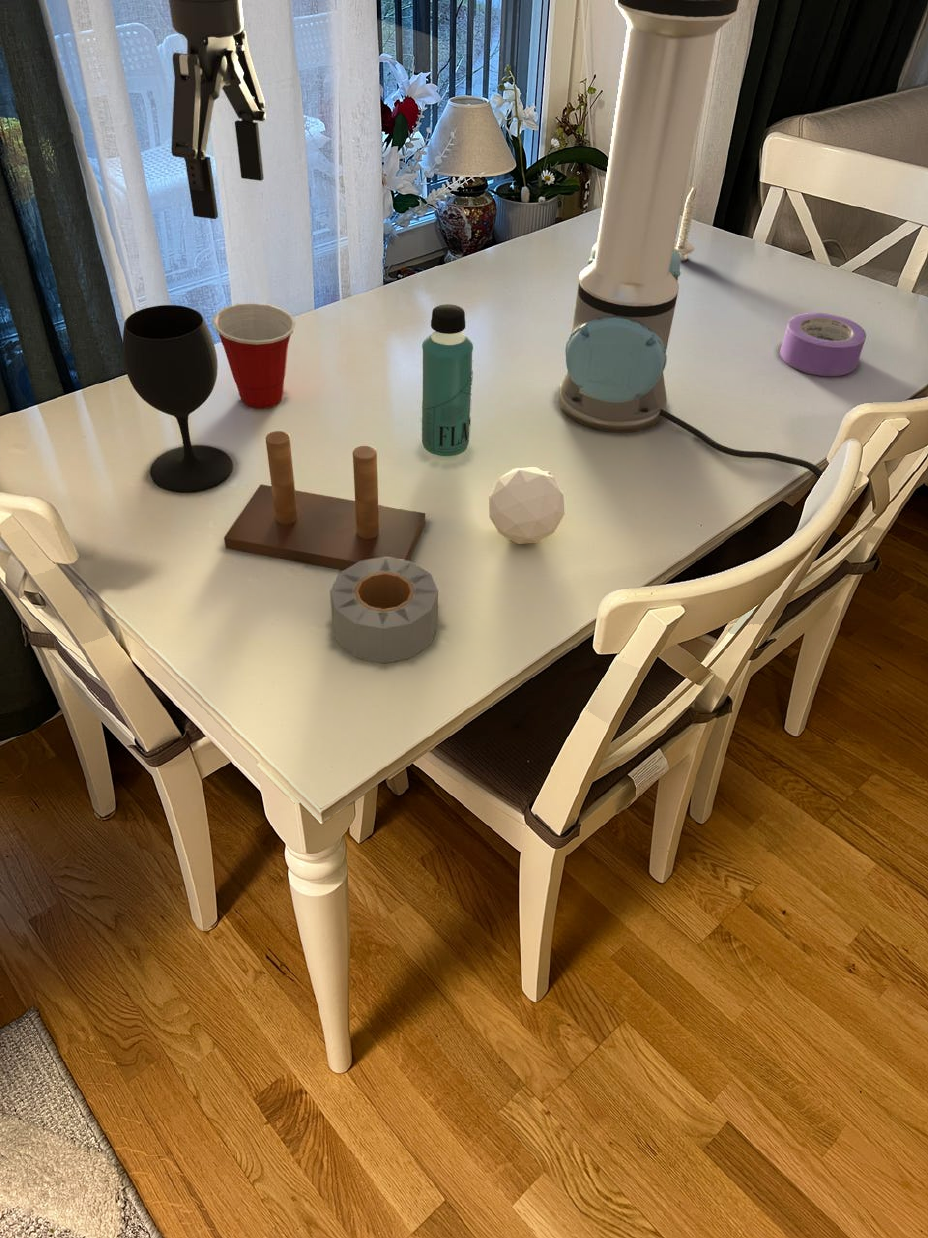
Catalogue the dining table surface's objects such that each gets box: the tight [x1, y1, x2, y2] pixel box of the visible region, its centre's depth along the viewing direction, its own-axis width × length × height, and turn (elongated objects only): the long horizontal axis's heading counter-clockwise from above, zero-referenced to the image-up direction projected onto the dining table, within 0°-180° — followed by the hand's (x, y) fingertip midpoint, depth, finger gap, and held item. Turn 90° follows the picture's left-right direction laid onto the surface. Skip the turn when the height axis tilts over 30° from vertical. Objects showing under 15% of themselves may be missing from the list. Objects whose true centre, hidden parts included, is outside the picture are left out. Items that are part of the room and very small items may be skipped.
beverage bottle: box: [420, 303, 474, 457], centre depth 118 cm, size 6×7×20 cm
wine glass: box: [122, 304, 234, 494], centre depth 113 cm, size 10×10×20 cm
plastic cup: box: [212, 302, 297, 410], centre depth 129 cm, size 11×11×12 cm
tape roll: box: [779, 312, 867, 377], centre depth 147 cm, size 12×12×5 cm
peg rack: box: [223, 430, 427, 571], centre depth 107 cm, size 21×11×13 cm, turn 77°
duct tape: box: [329, 557, 439, 664], centre depth 99 cm, size 11×11×5 cm
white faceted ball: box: [488, 466, 565, 545], centre depth 111 cm, size 9×9×12 cm
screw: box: [673, 185, 697, 262], centre depth 171 cm, size 13×5×5 cm
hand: (230, 196), depth 114 cm, fingers open, 13 cm apart
